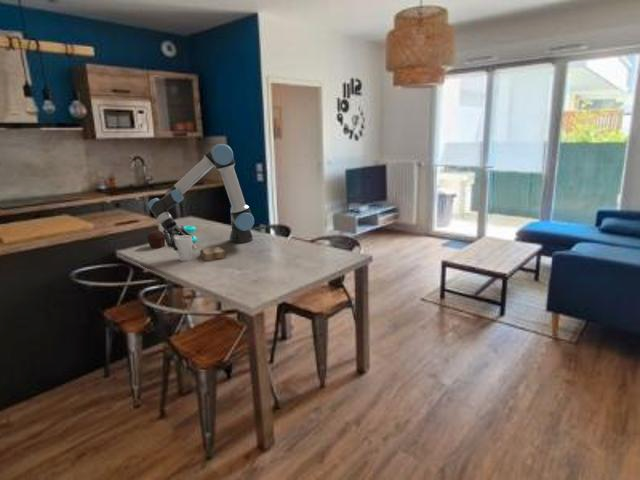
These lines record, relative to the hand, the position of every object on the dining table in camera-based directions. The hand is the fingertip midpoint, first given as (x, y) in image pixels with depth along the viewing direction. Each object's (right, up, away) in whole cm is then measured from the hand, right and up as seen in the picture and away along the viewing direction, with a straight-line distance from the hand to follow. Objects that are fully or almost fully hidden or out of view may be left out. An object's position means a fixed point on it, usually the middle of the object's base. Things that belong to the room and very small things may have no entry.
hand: (188, 251), depth 233 cm
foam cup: (-3, -4, +3) cm, 6 cm away
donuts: (-12, +5, +40) cm, 42 cm away
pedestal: (+13, -3, +6) cm, 14 cm away
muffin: (-29, +2, +30) cm, 42 cm away
